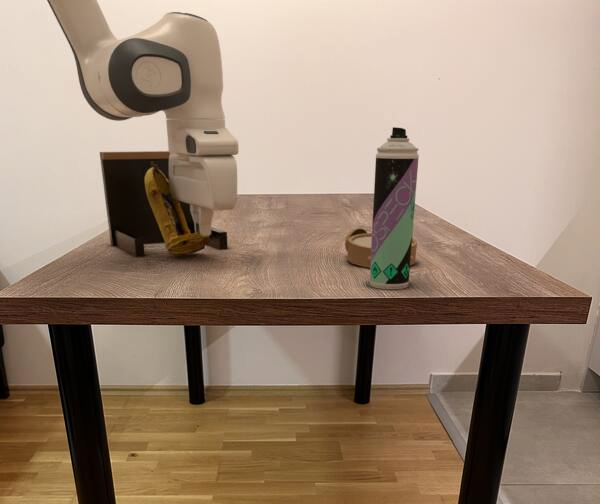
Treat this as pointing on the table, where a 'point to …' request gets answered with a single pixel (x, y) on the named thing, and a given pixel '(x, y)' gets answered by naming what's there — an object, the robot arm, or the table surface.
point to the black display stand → (138, 201)
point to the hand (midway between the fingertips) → (203, 234)
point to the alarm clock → (366, 248)
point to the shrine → (170, 216)
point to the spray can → (393, 211)
